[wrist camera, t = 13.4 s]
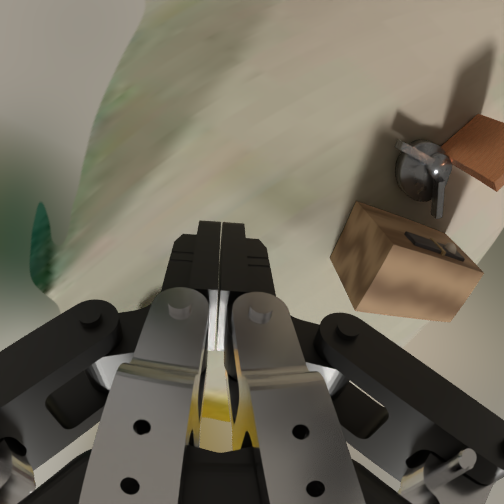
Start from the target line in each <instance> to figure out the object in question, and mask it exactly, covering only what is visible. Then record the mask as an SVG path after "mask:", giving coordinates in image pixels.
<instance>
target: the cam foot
mask: <svg viewBox="0 0 504 504" xmlns="http://www.w3.org/2000/svg"><path fill="white" fill-rule="evenodd" d="M395 148H397V149H399V150H401V151H402V152H401V153H400V155H399V157H398V160H397V163H396V171H395V173H396V180H397V183H398V185H399V187H400V188H401V189H402V190H403V191H404V192H405V193H406V194H407V195H408V196H410V197H411V198H412V199H414V200H416V201H423V202H424V201H429V200H431V199H432V206H431V215H432V216H434V217H435V218H436V219H438V218H442V214H443V202H444V188H445V186H446V184H447V181H448V178H449V175H450V173H451V170H452V165H454V166H456V167H458V168H459V169H461V170H463V171H464V172H466V173H468V174H469V175H471V176H473V177H474V178H476V179H478V180H479V181H481V182H482V183H484V184H486V185H487V186H489V187H490V188H492V189H493V190H495V191H496V192H497V191H498V190H499V189H500V188H501V187H502V186H503V185H504V123H503V122H500V121H497V120H494V119H492V118H489V117H486V116H483V115H480V114H477V115H476V116H475V117H474V118H473V119H472V120H471V121H470V122H468V123H467V124H466V125H465V126H464V127H463V128H462V129H461V130H459V131H458V132H457V133H456V134H455V135H454V136H453V137H451V138H450V139H449V140H448V141H447V142H446V143H444V144H443V145H442V146H441V147H440V146H438V145H436V144H434V143H432V142H430V141H427V140H416V141H413V142H411V143H410V144H407V143H405V142H403V141H401V140H399V139H398V140H397V142H396V145H395Z"/></svg>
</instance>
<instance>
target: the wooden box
mask: <svg viewBox="0 0 504 504" xmlns="http://www.w3.org/2000/svg"><path fill="white" fill-rule="evenodd" d="M330 259H331V261H332V263H333V265H334V267H335V270H336V272H337V274H338V276H339V278H340V280H341V282H342V284H343V286H344V288H345V290H346V293H347V295H348V297H349V299H350V301H351V303H352V305H353V308H354V310H355V311H360V312H367V313H375V314H383V315H390V316H398V317H407V318H415V319H424V320H433V321H443V322H451V320H452V319H453V318H454V316H455V315H456V314H457V312H458V311H459V310H460V308H461V307H462V305H463V304H464V303H465V301H466V300H467V298H468V297H469V295H470V294H471V292H472V291H473V289H474V288H475V286H476V285H477V283H478V282H479V280H480V279H481V277H482V275H483V274H484V273H483V272H482V270H481V269H480V268H479V267H478V266H477V265H476V264H475V263H474V262H473V261H472V260H471V259H470V258H469V257H468V256H467V255H466V254H465V253H464V252H463V251H462V250H461V249H460V248H459V247H458V246H457V245H456V244H455V243H454V242H453V241H452V240H451V239H450V238H449V237H448V236H447V235H446V234H445V233H443V232H440V231H438V230H435V229H433V228H430V227H427V226H425V225H422V224H420V223H417V222H414V221H412V220H409V219H406V218H404V217H401V216H398V215H395V214H393V213H390V212H387V211H384V210H381V209H378V208H375V207H373V206H370V205H367V204H364V203H361V202H358V201H356V203H355V205H354V207H353V209H352V212H351V214H350V216H349V218H348V220H347V223H346V225H345V227H344V229H343V231H342V233H341V236H340V238H339V240H338V242H337V244H336V246H335V248H334V250H333V252H332V255H331V257H330Z"/></svg>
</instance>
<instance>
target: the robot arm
mask: <svg viewBox="0 0 504 504" xmlns="http://www.w3.org/2000/svg"><path fill="white" fill-rule="evenodd" d="M220 230H221V222H215V221H199V226H198V232H197V235H192V234H182V235H181V236H180V237H179V238H178V239H177V240H176V241H175V242H174V245H173V248H172V253H171V256H170V260H169V263H168V267H167V270H166V274H165V278H164V282H163V286H162V290H161V293H159V294H158V295H157V296H156V297H155V298H154V300H153V302H152V304H150V305H149V306H147V307H145V308H142V309H139V310H135V311H129V312H122V313H118V311H117V310H116V308H115V307H114V306H113V305H112V304H111V303H109V302H107V301H103V300H88V301H84V302H81V303H79V304H77V305H75V306H74V307H72V308H70V309H69V310H67V311H65V312H64V313H62V314H60V315H59V316H57V317H55V318H54V319H52V320H50V321H49V322H47V323H45V324H44V325H42V326H41V327H39V328H37V329H36V330H34V331H32V332H31V333H29V334H28V335H26V336H24V337H23V338H21V339H20V340H18V341H16V342H15V343H13V344H12V345H10V346H8V347H7V348H5V349H4V350H2V351H1V352H0V504H485V502H486V500H487V498H488V495H489V493H490V491H491V488H492V486H493V484H494V483H495V482H496V481H498V480H499V479H501V478H503V477H504V420H503V419H501V418H500V417H498V416H497V415H496V414H494V413H493V412H491V411H490V410H489V409H487V408H486V407H484V406H483V405H482V404H480V403H479V402H477V401H476V400H475V399H473V398H472V397H470V396H469V395H467V394H466V393H465V392H463V391H462V390H460V389H459V388H458V387H456V386H455V385H453V384H452V383H451V382H449V381H448V380H446V379H445V378H443V377H442V376H441V375H439V374H438V373H436V372H435V371H434V370H432V369H431V368H429V367H428V366H426V365H425V364H424V363H422V362H421V361H419V360H418V359H416V358H415V357H414V356H412V355H411V354H409V353H408V352H407V351H405V350H404V349H402V348H401V347H399V346H398V345H397V344H395V343H394V342H392V341H391V340H389V339H388V338H387V337H385V336H384V335H382V334H381V333H379V332H378V331H377V330H375V329H374V328H372V327H371V326H369V325H368V324H367V323H365V322H364V321H362V320H361V319H359V318H358V317H356V316H353V315H350V314H347V313H332V314H329V315H327V316H326V317H325V318H323V320H322V321H321V323H320V325H318V324H314V323H311V322H307V321H303V320H300V319H297V318H295V317H292V316H291V315H290V313H289V310H288V308H287V306H286V305H285V303H284V302H283V301H282V300H280V299H279V298H278V297H276V294H275V289H274V284H273V279H272V273H271V268H270V263H269V260H268V253H267V248H266V247H265V246H264V244H263V243H262V242H261V241H260V240H259V239H250V238H246V237H245V227H244V224H242V223H228V222H223V224H222V236H221V249H220ZM219 251H220V262H219ZM218 276H219V280H218ZM217 298H218V312H217ZM216 313H217V351H224V366H225V369H226V372H225V375H226V384H227V393H228V402H229V410H230V419H231V427H232V451H230V452H224V453H217V452H213V451H209V450H205V449H202V448H199V443H200V426H201V418H202V409H203V401H204V393H205V385H206V377H207V354H208V350H214V348H215V330H216ZM349 380H350V381H352V382H353V383H354V384H356V385H357V386H358V387H360V388H361V389H362V390H363V391H365V392H366V393H367V394H369V395H370V396H371V397H373V398H374V399H375V400H377V401H378V402H380V403H381V404H382V405H383V406H384V407H382V406H381V405H379V404H378V403H376V402H375V401H374V400H372V399H371V398H370V397H369V396H367V395H366V394H365V393H363V392H362V391H361V390H359V389H358V388H357V387H355V386H354V385H353V384H352V383H350V382H349ZM99 421H100V423H99V426H98V430H97V433H96V437H95V440H94V444H93V447H92V449H90V450H88V451H86V452H84V453H82V454H80V455H79V456H77V457H76V458H74V459H73V460H72V461H70V462H69V463H68V464H67V465H66V466H65V467H63V468H62V469H61V470H59V472H57V473H56V474H54V475H53V476H52V477H51V478H50V479H48V480H47V481H46V482H44V483H43V484H42V485H41V486H40V487H38V488H37V489H36V490H35V488H36V483H35V480H34V473H33V471H34V470H35V469H36V468H38V467H39V466H40V465H42V464H43V463H45V462H46V461H47V460H49V459H50V458H52V457H53V456H54V455H56V454H57V453H58V452H60V451H61V450H62V449H64V448H65V447H66V446H68V445H69V444H70V443H72V442H73V441H74V440H76V439H77V438H78V437H80V436H81V435H82V434H84V433H85V432H86V431H88V430H89V429H90V428H92V427H93V426H94V425H95V424H96V423H98V422H99ZM346 442H348V443H349V444H350V445H351V446H353V447H354V448H355V449H356V450H358V451H359V452H360V453H362V454H363V455H364V456H366V457H367V458H368V459H370V460H371V461H372V462H374V463H375V464H376V465H378V466H379V467H380V468H382V469H383V470H384V471H386V472H387V473H389V474H390V475H392V476H393V477H394V478H396V479H397V480H399V481H400V482H401V486H400V489H399V491H398V493H397V492H396V491H395V490H393V489H392V488H391V487H389V486H388V485H386V484H385V483H384V482H383V481H381V480H380V479H379V478H378V477H376V476H375V475H374V474H373V473H371V472H370V471H369V470H368V469H366V468H365V467H364V466H362V465H361V464H360V463H358V462H356V461H355V460H353V459H351V456H350V453H349V450H348V447H347V444H346ZM31 492H32V493H31Z"/></svg>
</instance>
